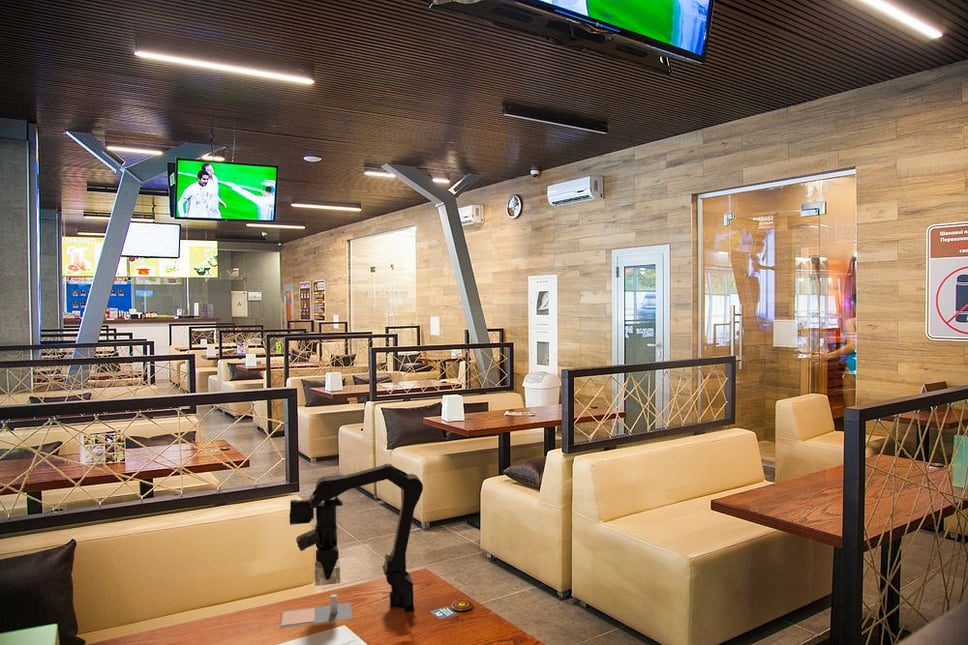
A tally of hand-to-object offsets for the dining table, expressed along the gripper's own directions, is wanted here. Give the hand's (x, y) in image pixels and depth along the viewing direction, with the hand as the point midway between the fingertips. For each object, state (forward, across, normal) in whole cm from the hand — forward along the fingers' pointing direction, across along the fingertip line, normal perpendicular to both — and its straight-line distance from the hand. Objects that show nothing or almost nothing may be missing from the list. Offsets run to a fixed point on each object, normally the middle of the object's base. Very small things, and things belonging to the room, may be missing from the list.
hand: (327, 574), depth 194 cm
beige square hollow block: (+2, 0, 0) cm, 2 cm away
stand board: (+12, 0, -3) cm, 13 cm away
